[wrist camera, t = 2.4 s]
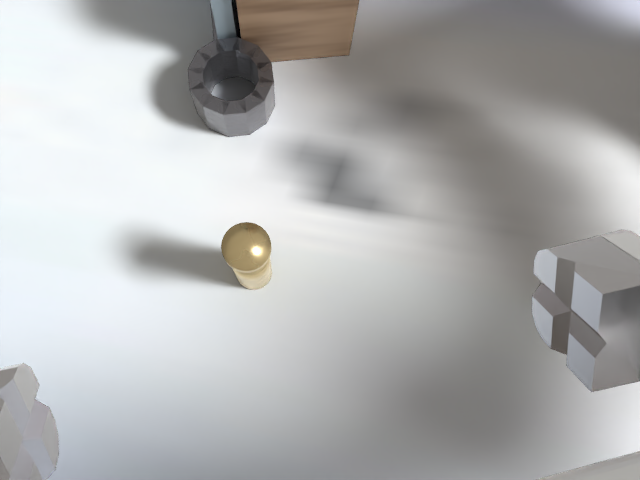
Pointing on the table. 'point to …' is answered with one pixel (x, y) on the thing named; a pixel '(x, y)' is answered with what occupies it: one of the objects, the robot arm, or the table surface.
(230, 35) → the cabinet door
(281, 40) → the cabinet
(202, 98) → the grey hollow ring
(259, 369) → the table surface
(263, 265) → the hinge pin
